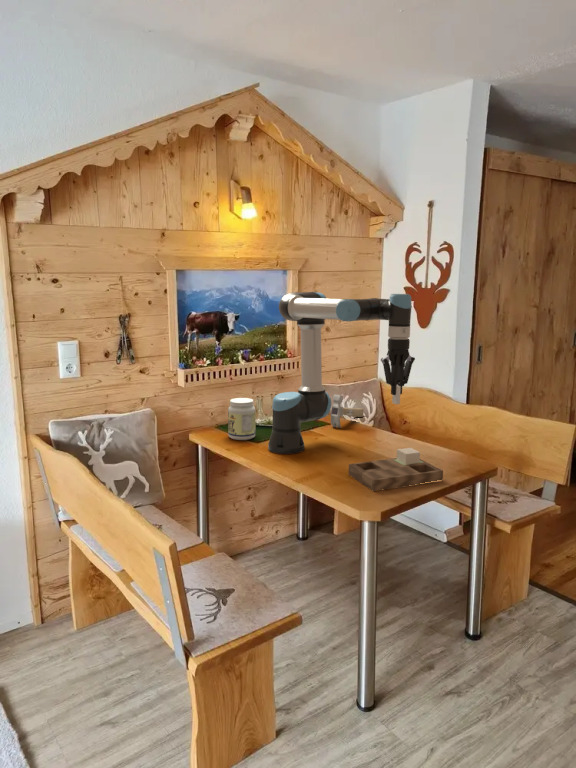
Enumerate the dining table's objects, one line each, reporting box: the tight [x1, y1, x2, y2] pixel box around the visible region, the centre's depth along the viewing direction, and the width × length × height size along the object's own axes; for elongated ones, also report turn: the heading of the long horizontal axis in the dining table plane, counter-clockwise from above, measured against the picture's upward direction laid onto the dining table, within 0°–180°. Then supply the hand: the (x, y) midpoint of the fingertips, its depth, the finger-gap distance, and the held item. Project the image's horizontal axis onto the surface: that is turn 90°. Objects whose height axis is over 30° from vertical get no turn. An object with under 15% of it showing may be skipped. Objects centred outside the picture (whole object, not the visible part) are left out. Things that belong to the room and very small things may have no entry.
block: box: [396, 447, 421, 465], centre depth 211 cm, size 6×6×4 cm
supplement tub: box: [227, 397, 256, 441], centre depth 255 cm, size 12×12×17 cm
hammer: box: [330, 394, 365, 429], centre depth 282 cm, size 16×5×30 cm
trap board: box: [348, 457, 444, 492], centre depth 205 cm, size 28×18×4 cm, turn 112°
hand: (396, 403), depth 205 cm, fingers closed
